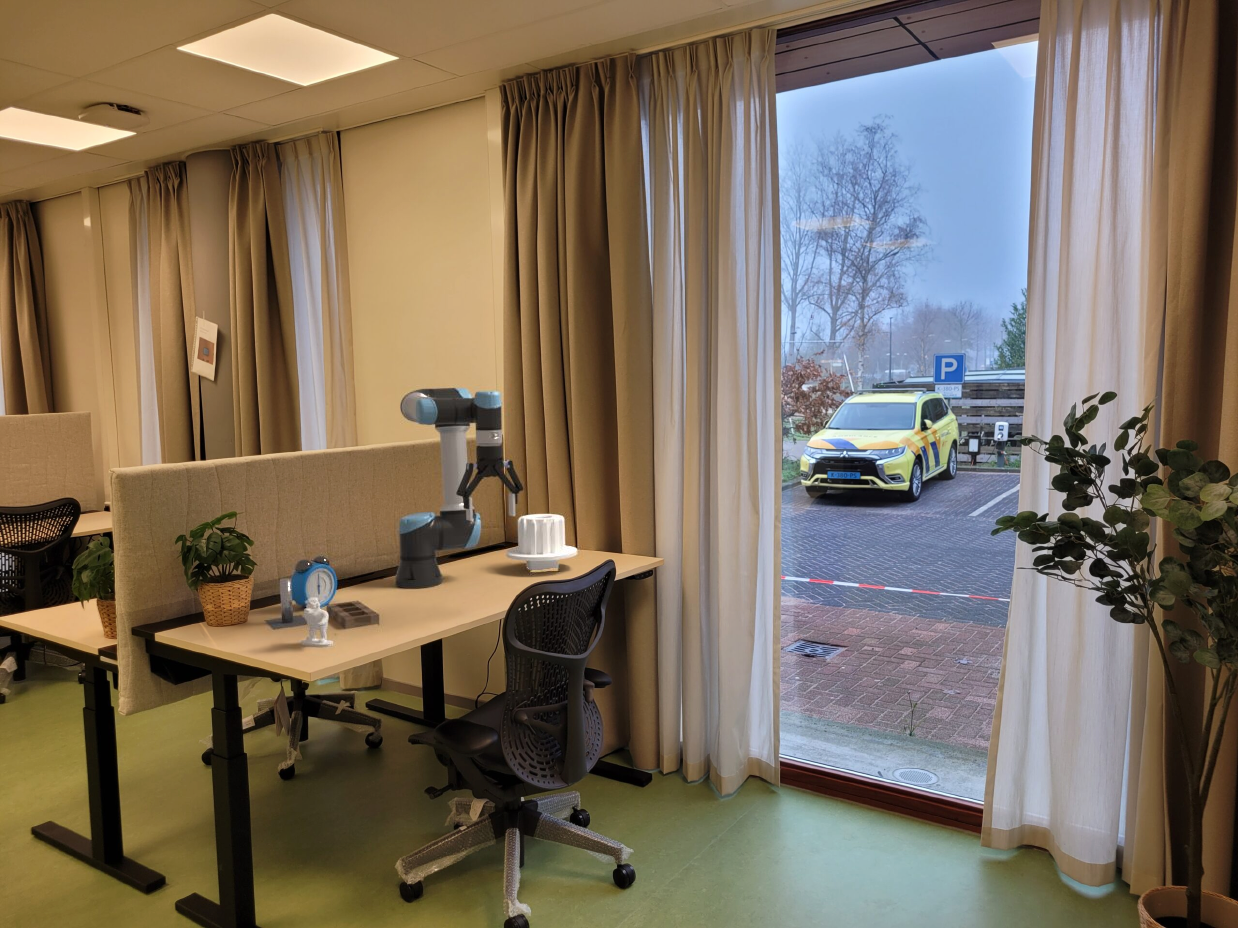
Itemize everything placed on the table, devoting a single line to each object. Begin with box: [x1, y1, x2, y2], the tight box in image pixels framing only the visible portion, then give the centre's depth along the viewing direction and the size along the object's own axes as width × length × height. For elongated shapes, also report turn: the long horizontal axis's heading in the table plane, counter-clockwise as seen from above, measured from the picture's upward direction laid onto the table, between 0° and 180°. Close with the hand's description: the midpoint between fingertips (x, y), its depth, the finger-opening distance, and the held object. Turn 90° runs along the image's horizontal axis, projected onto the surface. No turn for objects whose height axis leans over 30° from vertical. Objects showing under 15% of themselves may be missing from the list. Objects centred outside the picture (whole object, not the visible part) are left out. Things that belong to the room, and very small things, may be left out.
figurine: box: [300, 597, 334, 648], centre depth 230 cm, size 9×7×12 cm
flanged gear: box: [505, 513, 578, 571], centre depth 320 cm, size 25×25×19 cm
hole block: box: [325, 600, 380, 630], centre depth 254 cm, size 20×9×3 cm, turn 32°
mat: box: [264, 614, 309, 631], centre depth 252 cm, size 12×10×1 cm
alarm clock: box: [290, 555, 338, 608], centre depth 270 cm, size 13×6×15 cm, turn 150°
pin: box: [279, 578, 294, 623], centre depth 251 cm, size 3×3×12 cm
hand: (491, 517), depth 263 cm, fingers open, 13 cm apart
